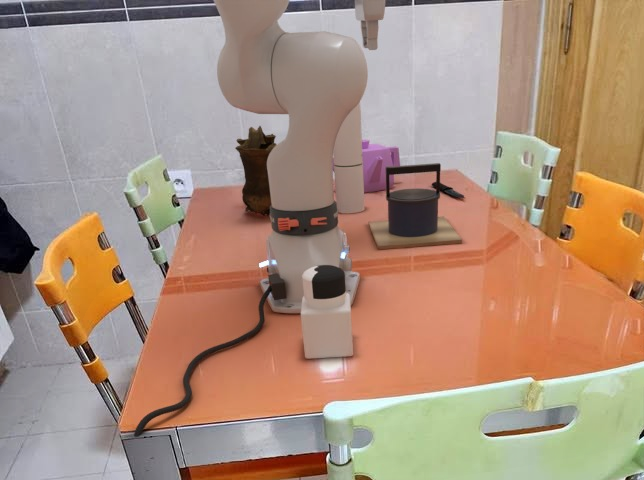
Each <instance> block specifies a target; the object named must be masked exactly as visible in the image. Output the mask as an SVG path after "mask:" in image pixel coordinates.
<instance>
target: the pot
mask: <svg viewBox="0 0 644 480" xmlns="http://www.w3.org/2000/svg"><path fill="white" fill-rule="evenodd" d="M441 165H442V164H441V163H440V162H437V163H435V162H434V163H421V164H408V165H407V164H406V165H400V166H391V167H385V171H386V190H385V199H386V201H387V220H388V228H389V233H391V234H393V235H396V236H402V237H419V236H426V235H430V234H433V233H435V232H436V231H437V230H438V217H439V200H440V198H441V190H440V182H441V169H442V168H441V167H442V166H441ZM423 173H436V177H435V178H436V179H435V182H436V187H435V189H431V188H430V189H429V188H404V189H403V188H402V189H397V190H392V191H390V190H391V189H390V184H389V175H394V176H395V175H406V174H407V175H409V174H423Z"/></svg>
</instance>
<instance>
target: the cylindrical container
mask: <svg viewBox="0 0 644 480" xmlns="http://www.w3.org/2000/svg"><path fill="white" fill-rule="evenodd" d="M361 111H362V110H361V101H360V102H359V103H358V105H357V106H356V107H355V108H354V109H353V110H352V111H351V112H350V113H349V114H348V115H347V117H346V118H345V120H344V121H343V123H342V125H341V127H340V129H339V132H338V134H337V137H336V141H335V145H334V151H333V158H334V171H333V174H334V188H335V201H336V203H337V209H338V213H341V214H356V213H361V212H364V211H365V210H366V209H365V193H364V182H363V159H362V140H363V136H362V115H361Z"/></svg>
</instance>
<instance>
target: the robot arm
mask: <svg viewBox="0 0 644 480" xmlns="http://www.w3.org/2000/svg"><path fill="white" fill-rule="evenodd" d="M212 1H213V3H214V5H215V7H216V9H217V12H218V13H219V16H220V19H221V22H222V26H223V29H224V38H225V41H224V45H223V46H222V48H221V50H220V53H219V55H218V58H217V65H216V77H217V82H218V86H219V89H220V91H221V93H222V95H223V97H224V99H225V100H226V101H227V103H228V104H229V105H231V106H232V107H233V108H236V109H239V110H243V111H246V112H249V113H253V114H258V115H288V119H289V120H288V130H287V133H286V137H285V138H284V139H283V140H282V141H279V142H278V143H276V144H277V145H276V146H275V147H274V148H273V149H272V151H271V152H270V154H269V156H268V159H267V171H268V179H269V187H270V196H271V204H272V205H271V206H270V216H269V220H270V226H271V229H272V232H271V233H270V234H269V236H267V238H266V239H265V245H266V255H267V260H265V261H262V262H260V263H259V264H258V265H259V268H262V267H266V272H267V273H268V275H267V277H265V278H263V279H261V280H260V281H259V282H260V283H259V287H260V290H261V291H262V293H263V294H262V296H261V297H260V300H259V302H258V314H259V315H258V316H259V320H258V322H257V325H256V326H255V327H254V328H253V329H251V330H249V331H247V332H246V333H244V334H242V335H240V336H238V337H237V338H234V339H231V340H229V341H226V342H223V343H220V344H218V345H215V346H212V347H210V348H207V349H205V350H203V351H201V352H200V353H198V354H197V355H196V356H195V357H194V358H192V360H191V361H190V362H189V364H188V366H187V368H186V370H185V372H184V374H183V377H182V382H183V386H184V390H185V395H184V397H183V398H182V400H181V401H178V402H177V403H175V404H172V405H167V406H165V407H161V408H158V409H155V410H153V411H151V412H149V413H148V414H146V415H145V416H144V417H143V418H142V419H140V421H139V422H138V424H137V426H136V427H135V430H134V433H133V437H135V438H137V437H140V436H141V435H143V432H144V429H145V428H146V426H147V425H148V424H149V423H150V422H151V421H152V420H153V419H155V418H157V417H160V416H161V415H162V416H163V415H165V414H170V413H172V412H175V411H179V410H181V409H183V408H185V407H186V406H187V405H189V403H190V401H191V399H192V396H193V389H192V386H191V384H190V377H191V375H192V372H193V370H194V369H195V367H196V366H197V365H198V363H199V362H200V361H202V360H203V359H204V358H206V357H207V356H209V355H212V354H214V353H217V352H218V351H219V352H220V351H223V350H224V349H228V348H230V347H234V346H236V345H238V344H240V343H242V342H244V341H246V340H248V339H250V338H251V337H254V336H255V335H256V334H258V333H259V332H260V331H261V330H262V327H263V326H264V324H265V319H266V317H265V310H264V309H265V308H264V307H265V303H266V301H267V303H268V305H269V307H270V309H271V311H272V312H274V313H280V314H281V313H282V314H301V306H302V298H303V296H304V289H303V279H302V275H303V273H304V272H305V271H306V270H308V269H310V268H312V267H314V266H319V265H332V266H336V267H339V268H341V269H342V270H343V271H344V272H345V286H346V293H348V294H349V295H350V305H351V306H352V305H353V304H354V301H355V297H356V294H357V290H358V288H359V285H360V281H361V276H360V275H361V274H360V273H359V272H357V271H353V259H352V257H349V254H350V252H351V249H350V245H349V244H348V236H347V233H346V232H345V231H344V230H342V229H341V228H340V227H339V212H338V209H337V203H336V199H335V195H334V194H335V193H334V171H333V157H334V156H333V151H334V145H335V141H336V137H337V134H338V132H339V129H340V127H341V125H342V123H343V121H344V120H345V118H346V117H347V115H348V114H349V113H350V112H351V111H352V110H353V109H354V108H355V107H356V106H357V105H358V103H359V102H360V103H361V101H362V98H363V97H364V95H365V92H366V89H367V84H368V77H369V76H368V72H369V71H368V65H367V59H366V57H365V54H364V51H363V50H362V48H361V46H360V44H359V43H358V41H357V40H356V39H354V37H351V36H348V35H344V34H340V33H336V32H331V31H326V30H325V31H324V30H322V31H321V30H320V31H303V32H301V31H299V32H288V31H287V32H286V31H285V30H283V28H282V27H281V26H280V24H279V22H278V21H279V20H280V19H281V18H282V16H283V14H284V13H285V11H286V10H287V8H288V6H289V4H290V0H212ZM385 11H386V0H354V13H355V14H354V15H355V19H356V21H360V31H361V37H362V38H361V39H362V47H363V48H364V49H368V50H369V51H377V49H378V48H379V47H378V46H379V45H378V36H379V21H382V20H384V18H385Z"/></svg>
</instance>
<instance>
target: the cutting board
mask: <svg viewBox="0 0 644 480" xmlns="http://www.w3.org/2000/svg"><path fill="white" fill-rule="evenodd" d="M368 227H369V229H370V232H371V235H372V237H373V239H374V242H375V245H376V247H377V249H378V250H389V249H390V250H392V249H403V248H404V249H405V248H417V247H429V246H430V247H431V246H442V245H455V244H457V245H459V244H462V243H463V239H462V238H461V236H460V235H459V234H458V233H457V232H456V230H455V229H454V227H453V226H452V225H451V224H450V222H449V221H448V220H447V219H446V217H445V216H442V215H441V216H438V230H437V231H436V232H435V233H433V234H430V235H426V236H419V237H402V236H396V235H393V234H391V233H389V228H388V219H387V220H386V219H385V220H373V221H368Z"/></svg>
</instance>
